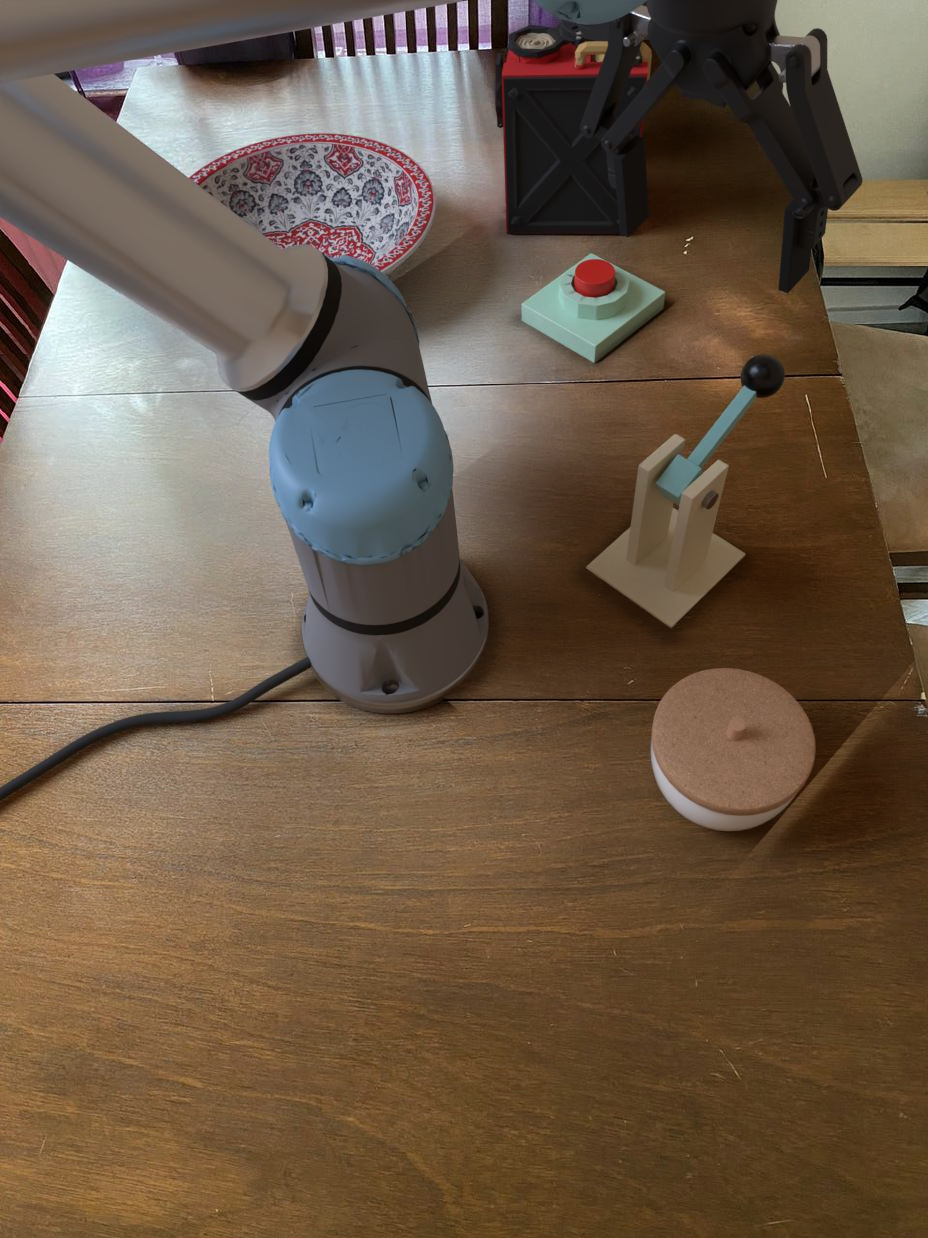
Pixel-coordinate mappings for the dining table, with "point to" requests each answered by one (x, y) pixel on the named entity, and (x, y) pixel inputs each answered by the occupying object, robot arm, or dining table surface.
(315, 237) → the ceramic bowl
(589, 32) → the black and red jerrycan
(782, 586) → the dining table surface
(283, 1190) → the dining table surface
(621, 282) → the button box
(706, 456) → the switch
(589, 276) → the button
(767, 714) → the trinket box
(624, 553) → the bracket
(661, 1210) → the dining table surface
